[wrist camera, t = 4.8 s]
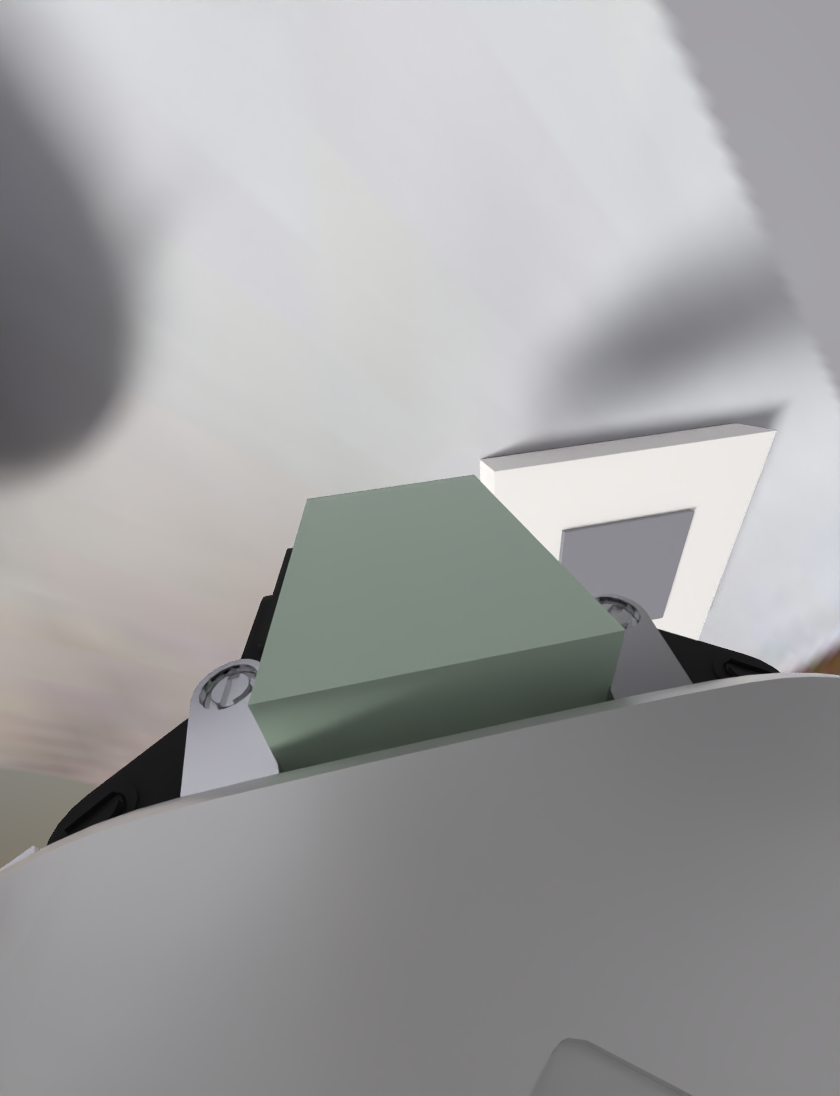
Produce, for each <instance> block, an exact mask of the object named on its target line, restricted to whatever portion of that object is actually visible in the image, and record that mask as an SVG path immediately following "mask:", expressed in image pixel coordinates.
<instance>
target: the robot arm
mask: <svg viewBox="0 0 840 1096" xmlns="http://www.w3.org/2000/svg"><path fill="white" fill-rule="evenodd" d="M292 550H293V548H289V549H287V551H286V554H285V557H284V561H283V564H282V567H281V570H280V573H279V576H278V580H277V583H276V586H275V589H274V592H273V595H270V596H265V597H263V599H262V601H261V603H260V606H259V609H258V612H257V615H256V618H255V620H254V623H253V626H252V629H251V632H250V635H249V637H248V640H247V643H246V646H245V649H244V652H243V654H242V657H241V659H239V660H236V661H232V662H229V663H226V664H224V665H222V666H220V667H218V668H216V669H215V670H213V671H212V672H211V673H209V674H208V675H207V676H206V677H205V678H204V679H203V680H202V681H201V682H199V684H198V685H197V687H196V688H195V690H194V691H193V694H192V697H191V700H190V709H189V718H188V719H186V720H185V721H184V722H183V723H181V724H180V725H179V726H177V727H176V728H175V729H173V730H172V731H171V732H169V733H168V734H167V735H165V736H164V737H163V738H162V739H160V740H159V741H158V742H156V743H155V744H154V745H152V746H151V747H150V748H148V749H147V750H146V751H145V752H143V753H142V754H141V755H139V756H138V757H137V758H135V759H134V760H133V761H131V762H130V763H129V764H127V765H126V766H125V767H124V768H122V769H121V770H120V771H118V772H117V773H116V774H114V775H113V776H112V777H110V778H109V779H108V780H106V781H105V782H104V783H103V784H101V785H100V786H99V787H97V788H96V789H95V790H93V791H92V792H91V793H90V794H88V795H87V796H86V797H85V798H83V799H82V800H81V801H80V802H79V803H78V804H77V805H76V806H74V807H73V808H72V809H71V810H70V811H69V812H68V814H67V815H66V816H65V817H64V818H63V819H62V821H61V822H60V823H59V824H58V826H57V827H56V829H55V831H54V832H53V834H52V836H51V837H50V839H49V841H48V844H47V845H46V846H45V847H43V848H42V849H41V850H40V849H39V848H37V847H36V846H35V845H34V846H32V847H31V848H29V849H28V850H27V851H25V852H24V853H22V854H21V855H19V856H18V857H17V858H15V859H14V860H12V861H11V862H9V863H8V864H7V865H5V866H4V867H2V868H1V869H0V1096H840V676H839V675H830V674H821V673H780V672H779V671H778V670H776V669H775V668H774V667H772V666H770V665H768V664H766V663H765V662H763V661H761V660H759V659H756V658H753V657H751V656H748V655H745V654H742V653H738V652H735V651H732V650H728V649H725V648H721V647H718V646H715V645H711V644H708V643H705V642H701V641H698V640H694V639H691V638H688V637H684V636H681V635H678V634H674V633H671V632H667V631H664V630H661V629H657V628H656V626H655V624H654V623H653V621H652V620H651V618H650V617H649V615H648V614H647V612H646V611H645V610H644V609H643V608H642V607H641V605H639V604H638V603H636V602H635V601H633V600H631V599H629V598H626V597H624V596H621V595H617V594H613V593H593V594H591V595H592V596H593V597H594V598H595V599H596V600H597V601H598V602H599V603H600V604H601V605H602V606H603V607H604V608H605V609H606V610H607V611H608V612H609V613H610V614H611V615H612V616H613V617H614V618H615V620H616V621H617V622H618V623H619V624H620V625H621V626H622V627H623V628H624V629H625V630H626V631H625V635H624V639H623V643H622V647H621V651H620V655H619V658H618V662H617V666H616V670H615V674H614V678H613V682H612V686H609V690H608V694H607V698H606V702H602V703H597V704H593V705H588V706H583V707H579V708H574V709H569V710H564V711H560V712H555V713H550V714H546V715H541V716H536V717H532V718H527V719H522V720H518V721H513V722H509V723H504V724H500V725H495V726H490V727H486V728H481V729H477V730H472V731H467V732H463V733H458V734H454V735H449V736H445V737H440V738H436V739H431V740H426V741H422V742H417V743H413V744H408V745H404V746H399V747H395V748H390V749H386V750H381V751H377V752H372V753H368V754H363V755H359V756H354V757H350V758H346V759H341V760H337V761H332V762H328V763H323V764H319V765H314V766H310V767H305V768H301V769H297V770H292V771H288V772H284V771H283V769H282V767H281V765H280V763H279V761H278V759H277V758H274V756H273V754H272V752H271V750H270V748H269V746H268V744H267V742H266V740H265V738H264V736H263V734H262V732H261V730H260V728H259V726H258V724H257V722H256V720H255V718H254V717H253V715H252V713H251V711H250V709H249V707H248V702H249V699H250V695H251V692H252V688H253V685H254V681H255V678H256V675H257V671H258V668H259V664H260V661H261V657H262V654H263V650H264V647H265V643H266V640H267V637H268V633H269V630H270V626H271V623H272V619H273V616H274V612H275V609H276V605H277V602H278V599H279V595H280V592H281V588H282V585H283V581H284V578H285V574H286V571H287V567H288V564H289V561H290V557H291V554H292Z"/></svg>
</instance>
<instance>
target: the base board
mask: <svg viewBox="0 0 840 1096" xmlns="http://www.w3.org/2000/svg"><path fill="white" fill-rule="evenodd" d="M776 431H777V430H771V429H766V428H760V427H755V426H749V425H744V424H738V423H734V424H726V425H719V426H712V427H705V428H698V429H691V430H684V431H677V432H670V433H663V434H656V435H649V436H642V437H635V438H628V439H621V440H614V441H607V442H600V443H592V444H585V445H578V446H571V447H564V448H557V449H550V450H543V451H536V452H529V453H522V454H515V455H508V456H501V457H494V458H487V459H480V481H481V482H482V483H483V484H484V485H485V486H486V487H487V488H488V489H489V491H490V492H491V493H492V494H493V495H494V496H495V497H496V498H497V499H498V500H499V501H500V502H501V503H502V504H503V505H504V506H505V507H506V508H507V509H508V510H509V511H510V512H511V513H512V514H513V515H514V516H515V517H516V518H517V519H518V520H519V521H520V522H521V523H522V524H523V525H524V526H525V527H526V528H527V529H528V530H529V531H530V532H531V534H532V535H533V536H534V537H535V538H536V539H537V540H538V541H539V542H540V543H541V544H542V545H543V546H544V547H545V548H546V549H547V550H548V551H549V552H550V553H551V554H552V555H553V556H554V557H555V558H556V559H557V560H558V561H559V562H560V563H561V564H562V565H563V566H564V567H565V568H566V569H567V570H568V571H569V572H570V573H571V574H572V575H573V577H574V578H575V579H576V580H577V581H578V582H579V583H580V584H581V585H582V586H583V587H584V588H585V589H586V590H587V591H588V592H589V593H590V594H593V593H613V594H617V595H621V596H624V597H626V598H629V599H631V600H633V601H635V602H636V603H638V604H639V605H641V607H642V608H643V609H644V610H645V611H646V612H647V614H648V615H649V617H650V618H651V620H652V621H653V623H654V624H655V626H656V628H657V629H661V630H664V631H667V632H671V633H674V634H678V635H681V636H684V637H688V638H691V639H694V640H698V638H699V636H700V633H701V630H702V628H703V625H704V622H705V620H706V617H707V614H708V612H709V609H710V607H711V604H712V601H713V599H714V596H715V593H716V591H717V588H718V585H719V583H720V580H721V577H722V575H723V572H724V569H725V567H726V564H727V561H728V559H729V556H730V553H731V551H732V548H733V545H734V543H735V540H736V538H737V535H738V532H739V530H740V527H741V524H742V522H743V519H744V516H745V514H746V511H747V508H748V506H749V503H750V500H751V498H752V495H753V492H754V490H755V487H756V484H757V482H758V479H759V476H760V474H761V471H762V469H763V466H764V463H765V461H766V458H767V455H768V453H769V450H770V447H771V445H772V442H773V439H774V437H775V434H776Z"/></svg>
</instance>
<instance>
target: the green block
mask: <svg viewBox="0 0 840 1096" xmlns="http://www.w3.org/2000/svg"><path fill="white" fill-rule="evenodd" d="M625 631H626V630H625V629H624V628H623V627H622V626H621V625H620V624H619V623H618V622H617V621H616V620H615V618H614V617H613V616H612V615H611V614H610V613H609V612H608V611H607V610H606V609H605V608H604V607H603V606H602V605H601V604H600V603H599V602H598V601H597V600H596V599H595V598H594V597H593V596H592V595H591V594H590V593H589V592H588V591H587V590H586V589H585V588H584V587H583V586H582V585H581V584H580V583H579V582H578V581H577V580H576V579H575V578H574V577H573V575H572V574H571V573H570V572H569V571H568V570H567V569H566V568H565V567H564V566H563V565H562V564H561V563H560V562H559V561H558V560H557V559H556V558H555V557H554V556H553V555H552V554H551V553H550V552H549V551H548V550H547V549H546V548H545V547H544V546H543V545H542V544H541V543H540V542H539V541H538V540H537V539H536V538H535V537H534V536H533V535H532V534H531V532H530V531H529V530H528V529H527V528H526V527H525V526H524V525H523V524H522V523H521V522H520V521H519V520H518V519H517V518H516V517H515V516H514V515H513V514H512V513H511V512H510V511H509V510H508V509H507V508H506V507H505V506H504V505H503V504H502V503H501V502H500V501H499V500H498V499H497V498H496V497H495V496H494V495H493V494H492V493H491V492H490V491H489V489H488V488H487V487H486V486H485V485H484V484H483V483H482V482H481V481H480V480H479V479H478V478H477V477H476V476H475V475H469V476H462V477H455V478H448V479H441V480H434V481H428V482H421V483H414V484H407V485H400V486H393V487H386V488H379V489H373V490H366V491H359V492H352V493H345V494H338V495H331V496H325V497H318V498H311V499H307V502H306V505H305V509H304V512H303V516H302V519H301V523H300V526H299V529H298V533H297V536H296V540H295V543H294V547H293V550H292V554H291V557H290V561H289V564H288V567H287V571H286V574H285V578H284V581H283V585H282V588H281V592H280V595H279V599H278V602H277V605H276V609H275V612H274V616H273V619H272V623H271V626H270V630H269V633H268V637H267V640H266V643H265V647H264V650H263V654H262V657H261V661H260V664H259V668H258V671H257V675H256V678H255V681H254V685H253V688H252V692H251V695H250V699H249V702H248V707H249V709H250V711H251V713H252V715H253V717H254V718H255V720H256V722H257V724H258V726H259V728H260V730H261V732H262V734H263V736H264V738H265V740H266V742H267V744H268V746H269V748H270V750H271V752H272V754H273V756H274V758H277V759H278V761H279V763H280V765H281V767H282V769H283V771H284V772H288V771H292V770H297V769H301V768H305V767H310V766H314V765H319V764H323V763H328V762H332V761H337V760H341V759H346V758H350V757H354V756H359V755H363V754H368V753H372V752H377V751H381V750H386V749H390V748H395V747H399V746H404V745H408V744H413V743H417V742H422V741H426V740H431V739H436V738H440V737H445V736H449V735H454V734H458V733H463V732H467V731H472V730H477V729H481V728H486V727H490V726H495V725H500V724H504V723H509V722H513V721H518V720H522V719H527V718H532V717H536V716H541V715H546V714H550V713H555V712H560V711H564V710H569V709H574V708H579V707H583V706H588V705H593V704H597V703H602V702H606V698H607V694H608V690H609V686H612V682H613V678H614V674H615V670H616V666H617V662H618V658H619V655H620V651H621V647H622V643H623V639H624V635H625Z"/></svg>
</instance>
